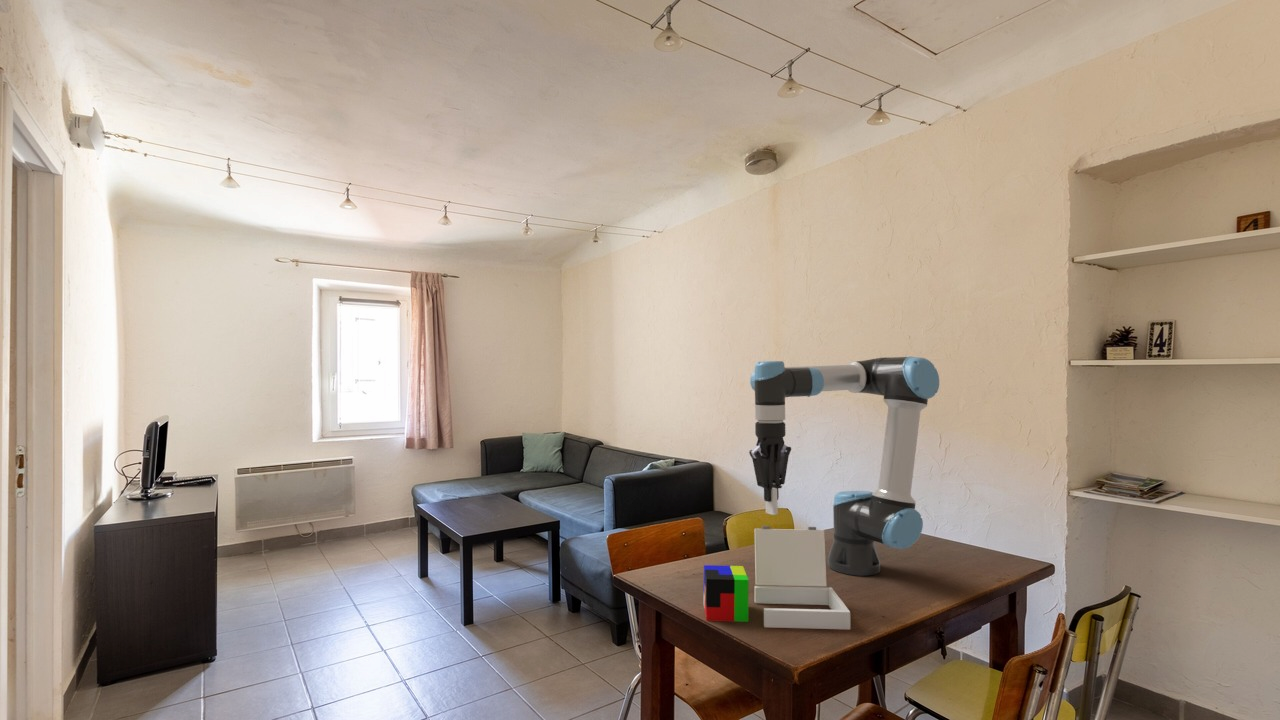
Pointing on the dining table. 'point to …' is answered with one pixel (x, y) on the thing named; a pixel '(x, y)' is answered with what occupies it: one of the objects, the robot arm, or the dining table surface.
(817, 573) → the cover
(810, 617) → the white hinged box
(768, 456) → the robot arm
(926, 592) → the dining table surface
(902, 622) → the dining table surface
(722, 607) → the puzzle toy
